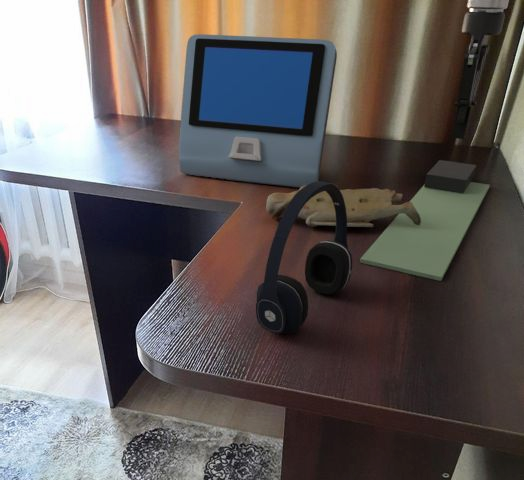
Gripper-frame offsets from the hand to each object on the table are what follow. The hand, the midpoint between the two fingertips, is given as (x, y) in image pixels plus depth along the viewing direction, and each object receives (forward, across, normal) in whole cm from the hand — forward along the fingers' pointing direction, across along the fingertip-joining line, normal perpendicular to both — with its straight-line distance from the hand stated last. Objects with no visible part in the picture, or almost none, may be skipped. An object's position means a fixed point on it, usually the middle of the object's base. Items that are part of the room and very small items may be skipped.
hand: (458, 137), depth 113 cm
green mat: (+12, +19, +2) cm, 23 cm away
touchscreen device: (+12, +11, -46) cm, 48 cm away
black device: (+10, -12, 0) cm, 15 cm away
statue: (+12, +32, -14) cm, 37 cm away
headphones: (+12, +66, -7) cm, 67 cm away
